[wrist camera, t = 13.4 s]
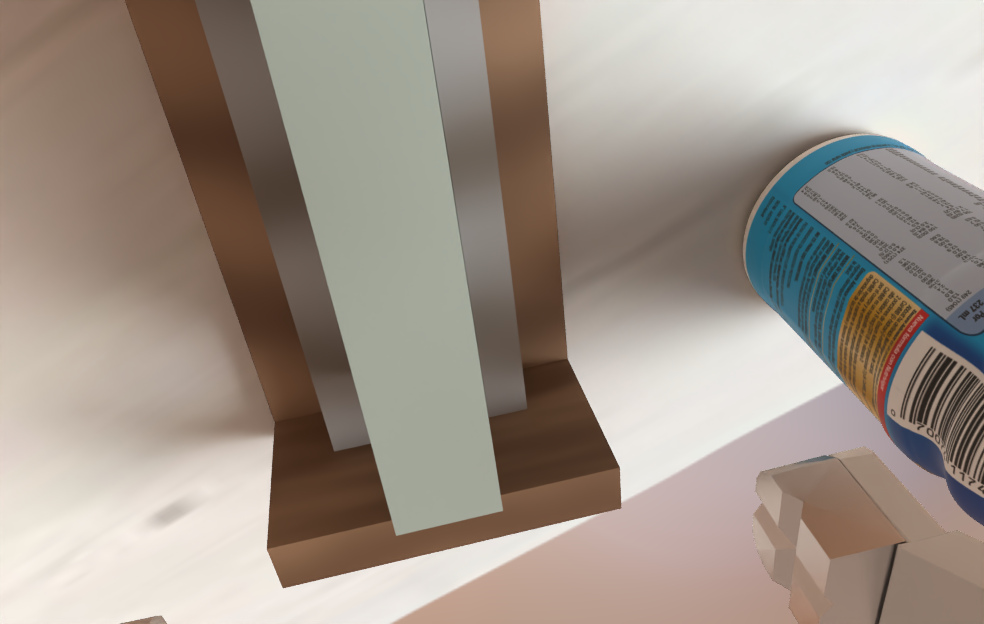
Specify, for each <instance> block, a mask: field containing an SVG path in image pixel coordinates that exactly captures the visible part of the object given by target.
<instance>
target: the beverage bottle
mask: <svg viewBox="0 0 984 624" xmlns="http://www.w3.org/2000/svg"><path fill="white" fill-rule="evenodd" d="M743 260H744V266H745V270H746V273H747V276H748V279H749V281H750V283H751V285H752V286H753V288H754V289H755V291H756V292H757V293H758V294H759V296H760V297H761V298H762V299H763V300H764V301H765V302H766V303H767V304H768V305H769V306H770V307H771V308H772V309H773V310H775V311H776V312H777V313H778V314H779V315H780V316H781V317H782V318H783V319H784V320H785V321H786V322H787V323H788V324H789V325H790V327H791V328H792V329H793V330H794V331H795V332H796V333H797V334H798V335H799V336H800V337H801V338H802V339H803V340H804V341H805V342H806V343H807V344H808V346H809V347H810V348H811V349H812V350H813V351H814V352H815V353H816V354H817V355H818V356H819V357H820V358H821V359H822V360H823V362H824V363H825V364H826V365H827V366H828V367H829V368H830V369H831V370H832V371H833V372H834V373H835V374H836V375H837V376H838V378H839V379H840V380H841V381H842V382H843V383H844V384H845V385H846V386H847V387H848V388H849V389H850V390H851V391H852V392H853V393H854V395H855V396H856V397H857V398H858V399H859V400H860V401H861V402H862V403H863V404H864V405H865V406H866V408H867V409H868V410H869V411H870V412H871V413H872V414H873V415H874V416H875V417H876V418H877V419H878V420H879V421H880V422H881V424H882V426H883V428H884V430H885V432H886V433H887V435H888V436H889V437H890V439H891V440H892V441H893V443H894V444H895V445H896V446H897V447H898V448H899V449H900V450H901V451H902V452H903V453H904V454H905V455H906V456H907V457H908V458H909V459H911V460H912V461H913V462H914V463H916V464H917V465H918V466H919V467H921V468H922V469H924V470H926V471H927V472H929V473H931V474H934V475H936V476H939V477H942V478H945V479H946V482H947V485H948V488H949V491H950V493H951V495H952V497H953V498H954V500H955V501H956V502H957V504H958V505H959V506H960V507H961V508H962V509H963V510H964V511H965V512H966V513H967V514H968V515H969V516H970V517H972V518H973V519H974V520H976V521H977V522H979V523H980V524H982V525H983V526H984V191H983V190H981V189H979V188H977V187H975V186H974V185H972V184H970V183H968V182H966V181H964V180H962V179H961V178H959V177H957V176H955V175H953V174H951V173H950V172H948V171H946V170H944V169H942V168H941V167H939V166H937V165H935V164H934V163H932V162H931V161H930V160H928V159H927V158H926V157H924V156H923V155H922V154H920V153H919V152H918V151H916V150H914V149H913V148H911V147H909V146H907V145H905V144H903V143H902V142H900V141H897V140H895V139H893V138H890V137H886V136H882V135H877V134H852V135H846V136H841V137H837V138H834V139H831V140H828V141H825V142H823V143H821V144H818V145H816V146H814V147H812V148H811V149H809V150H807V151H805V152H804V153H802V154H801V155H799V156H798V157H796V158H795V159H794V160H792V161H791V162H790V163H789V164H787V165H786V166H785V167H784V168H783V169H782V170H781V171H780V172H779V173H778V174H777V175H776V176H775V177H774V178H773V179H772V180H771V182H770V183H769V184H768V185H767V187H766V188H765V189H764V191H763V192H762V194H761V195H760V197H759V198H758V200H757V202H756V204H755V206H754V208H753V210H752V212H751V214H750V217H749V220H748V223H747V226H746V230H745V234H744V241H743Z"/></svg>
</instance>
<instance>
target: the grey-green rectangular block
mask: <svg viewBox="0 0 984 624" xmlns="http://www.w3.org/2000/svg"><path fill="white" fill-rule="evenodd" d="M250 1H251V5H252V9H253V12H254V16H255V20H256V23H257V27H258V31H259V34H260V38H261V42H262V45H263V49H264V53H265V56H266V60H267V64H268V67H269V71H270V75H271V78H272V82H273V86H274V89H275V93H276V97H277V100H278V104H279V108H280V111H281V115H282V119H283V122H284V126H285V130H286V133H287V137H288V141H289V144H290V148H291V152H292V155H293V159H294V163H295V166H296V170H297V174H298V177H299V181H300V185H301V188H302V192H303V196H304V199H305V203H306V207H307V210H308V214H309V218H310V222H311V225H312V229H313V233H314V236H315V240H316V244H317V247H318V251H319V255H320V258H321V262H322V266H323V269H324V273H325V277H326V280H327V284H328V288H329V291H330V295H331V299H332V302H333V306H334V310H335V313H336V317H337V321H338V324H339V328H340V332H341V335H342V339H343V343H344V346H345V350H346V354H347V357H348V361H349V365H350V368H351V372H352V376H353V379H354V383H355V387H356V390H357V394H358V398H359V401H360V405H361V409H362V412H363V416H364V420H365V423H366V427H367V431H368V434H369V438H370V442H371V445H372V449H373V453H374V456H375V460H376V464H377V467H378V471H379V475H380V478H381V482H382V486H383V489H384V493H385V497H386V501H387V504H388V508H389V512H390V515H391V519H392V523H393V526H394V530H395V534H396V536H398V535H402V534H406V533H411V532H415V531H419V530H423V529H428V528H432V527H436V526H440V525H445V524H449V523H453V522H458V521H462V520H466V519H470V518H475V517H479V516H483V515H488V514H492V513H496V512H500V511H503V507H502V501H501V494H500V488H499V481H498V475H497V469H496V462H495V456H494V450H493V443H492V437H491V431H490V424H489V418H488V411H487V405H486V399H485V392H484V386H483V380H482V373H481V367H480V361H479V354H478V348H477V341H476V335H475V329H474V322H473V316H472V310H471V303H470V297H469V291H468V284H467V278H466V271H465V265H464V259H463V252H462V246H461V240H460V233H459V227H458V220H457V214H456V208H455V201H454V195H453V189H452V182H451V176H450V170H449V163H448V157H447V150H446V144H445V138H444V131H443V125H442V119H441V112H440V106H439V100H438V93H437V87H436V80H435V74H434V68H433V61H432V55H431V49H430V42H429V36H428V30H427V23H426V17H425V10H424V4H423V0H250Z"/></svg>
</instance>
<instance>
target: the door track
mask: <svg viewBox="0 0 984 624" xmlns="http://www.w3.org/2000/svg"><path fill="white" fill-rule="evenodd" d="M125 2H126V5H127V8H128V11H129V13H130V16H131V19H132V22H133V25H134V28H135V30H136V33H137V36H138V39H139V42H140V44H141V47H142V50H143V53H144V56H145V58H146V61H147V64H148V67H149V70H150V72H151V75H152V78H153V81H154V84H155V87H156V89H157V92H158V95H159V98H160V101H161V103H162V106H163V109H164V112H165V115H166V117H167V120H168V123H169V126H170V129H171V132H172V134H173V137H174V140H175V143H176V146H177V148H178V151H179V154H180V157H181V160H182V162H183V165H184V168H185V171H186V174H187V177H188V179H189V182H190V185H191V188H192V191H193V193H194V196H195V199H196V202H197V205H198V207H199V210H200V213H201V216H202V219H203V221H204V224H205V227H206V230H207V233H208V236H209V238H210V241H211V244H212V247H213V250H214V252H215V255H216V258H217V261H218V264H219V266H220V269H221V272H222V275H223V278H224V281H225V283H226V286H227V289H228V292H229V295H230V297H231V300H232V303H233V306H234V309H235V311H236V314H237V317H238V320H239V323H240V325H241V328H242V331H243V334H244V337H245V340H246V342H247V345H248V348H249V351H250V354H251V356H252V359H253V362H254V365H255V368H256V370H257V373H258V376H259V379H260V382H261V385H262V387H263V390H264V393H265V396H266V399H267V401H268V404H269V407H270V410H271V413H272V415H273V418H274V421H275V428H274V444H273V460H272V476H271V492H270V508H269V524H268V540H267V551H268V553H269V555H270V558H271V560H272V563H273V565H274V568H275V570H276V572H277V575H278V577H279V580H280V582H281V585H282V587H283V588H286V587H291V586H295V585H299V584H303V583H308V582H312V581H316V580H320V579H324V578H329V577H333V576H337V575H341V574H346V573H350V572H354V571H358V570H362V569H367V568H371V567H375V566H379V565H384V564H388V563H392V562H396V561H400V560H405V559H409V558H413V557H417V556H422V555H426V554H430V553H434V552H439V551H443V550H447V549H451V548H455V547H460V546H464V545H468V544H472V543H477V542H481V541H485V540H489V539H493V538H498V537H502V536H506V535H510V534H515V533H519V532H523V531H527V530H531V529H536V528H540V527H544V526H548V525H553V524H557V523H561V522H565V521H569V520H574V519H578V518H582V517H586V516H591V515H595V514H599V513H603V512H608V511H612V510H615V509H620V508H621V488H620V467H619V465H618V463H617V461H616V459H615V457H614V455H613V453H612V450H611V448H610V446H609V444H608V442H607V440H606V438H605V436H604V434H603V432H602V430H601V428H600V425H599V423H598V421H597V419H596V417H595V415H594V413H593V411H592V409H591V407H590V405H589V403H588V400H587V398H586V396H585V394H584V392H583V390H582V388H581V386H580V384H579V382H578V380H577V378H576V376H575V373H574V371H573V369H572V367H571V365H570V363H569V361H568V358H567V345H566V332H565V320H564V307H563V294H562V282H561V269H560V256H559V244H558V231H557V218H556V206H555V193H554V180H553V168H552V155H551V142H550V130H549V117H548V105H547V92H546V79H545V67H544V54H543V41H542V29H541V16H540V3H539V0H423V4H424V10H425V17H426V23H427V30H428V36H429V42H430V49H431V55H432V61H433V68H434V74H435V80H436V87H437V93H438V100H439V106H440V112H441V119H442V125H443V131H444V138H445V144H446V150H447V157H448V163H449V170H450V176H451V182H452V189H453V195H454V201H455V208H456V214H457V220H458V227H459V233H460V240H461V246H462V252H463V259H464V265H465V271H466V278H467V284H468V291H469V297H470V303H471V310H472V316H473V322H474V329H475V335H476V341H477V348H478V354H479V361H480V367H481V373H482V380H483V386H484V392H485V399H486V405H487V411H488V418H489V424H490V431H491V437H492V443H493V450H494V456H495V462H496V469H497V475H498V481H499V488H500V494H501V501H502V507H503V511H500V512H496V513H492V514H488V515H483V516H479V517H475V518H470V519H466V520H462V521H458V522H453V523H449V524H445V525H440V526H436V527H432V528H428V529H423V530H419V531H415V532H411V533H406V534H402V535H398V536H396V534H395V530H394V526H393V523H392V519H391V515H390V512H389V508H388V504H387V501H386V497H385V493H384V489H383V486H382V482H381V478H380V475H379V471H378V467H377V464H376V460H375V456H374V453H373V449H372V445H371V442H370V438H369V434H368V431H367V427H366V423H365V420H364V416H363V412H362V409H361V405H360V401H359V398H358V394H357V390H356V387H355V383H354V379H353V376H352V372H351V368H350V365H349V361H348V357H347V354H346V350H345V346H344V343H343V339H342V335H341V332H340V328H339V324H338V321H337V317H336V313H335V310H334V306H333V302H332V299H331V295H330V291H329V288H328V284H327V280H326V277H325V273H324V269H323V266H322V262H321V258H320V255H319V251H318V247H317V244H316V240H315V236H314V233H313V229H312V225H311V222H310V218H309V214H308V210H307V207H306V203H305V199H304V196H303V192H302V188H301V185H300V181H299V177H298V174H297V170H296V166H295V163H294V159H293V155H292V152H291V148H290V144H289V141H288V137H287V133H286V130H285V126H284V122H283V119H282V115H281V111H280V108H279V104H278V100H277V97H276V93H275V89H274V86H273V82H272V78H271V75H270V71H269V67H268V64H267V60H266V56H265V53H264V49H263V45H262V42H261V38H260V34H259V31H258V27H257V23H256V20H255V16H254V12H253V9H252V5H251V1H250V0H125Z"/></svg>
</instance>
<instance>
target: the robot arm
mask: <svg viewBox="0 0 984 624" xmlns="http://www.w3.org/2000/svg"><path fill="white" fill-rule="evenodd" d="M755 492H756V493H757V495H758V496H759V498H760V500H761V501H762V504H761V505H760V506H759V508H758V509H757V510H756V511H755V513H754V514H753V535H754V539H755V544H756V548H757V551H758V554H759V556H760V558H761V561H762V563H763V565H764V567H765V569H766V570H767V572H768V574H769V575H770V577H771V579H772V580H773V581H775V582H776V583H778V584H780V585H782V586H783V587H785V588H787V589H789V590H790V591H791V593H790V601H789V609H790V610H791V612H792V614H793V615H794V617H795V619H796V620H797V622H798V623H799V624H984V543H983V542H982V541H979V540H977V539H975V538H973V537H971V536H968V535H966V534H964V533H962V532H960V531H952V532H946V531H945V530H944V529H943V528H942V527H941V526H940V525H939V524H938V523H937V521H935V519H934V518H933V517H932V516H931V515H930V514H929V513H928V512H927V510H926V509H925V508H924V507H923V506H922V505H921V504H920V503H919V502H918V501H917V499H916V498H915V497H914V496H913V495H912V494H911V493H910V492H909V491H908V490H907V488H906V487H905V486H904V485H903V484H902V483H901V482H900V481H899V480H898V478H896V477H895V475H894V474H893V473H892V472H891V471H890V470H889V469H888V467H887V466H886V465H885V464H884V463H883V462H882V461H881V460H880V459H879V458H878V456H877V455H876V454H875V453H874V452H873V451H872V450H870V449H868V448H866V447H860V448H856V449H852V450H848V451H844V452H839V453H835V454H831V455H829V456H821V457H817V458H812V459H808V460H805V461H800V462H797V463H792V464H789V465H784V466H781V467H777V468H773V469H769V470H765V471H761V472H760V474H759V475H758V477H757V479H756V489H755ZM121 624H167V623H166V621H165V620H164V618H163V617H162V616H154V617H149V618H145V619H140V620H135V621H130V622H126V623H121Z"/></svg>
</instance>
